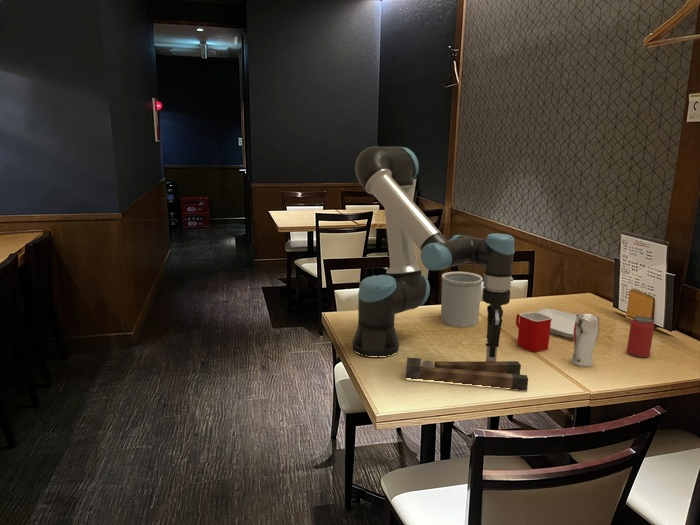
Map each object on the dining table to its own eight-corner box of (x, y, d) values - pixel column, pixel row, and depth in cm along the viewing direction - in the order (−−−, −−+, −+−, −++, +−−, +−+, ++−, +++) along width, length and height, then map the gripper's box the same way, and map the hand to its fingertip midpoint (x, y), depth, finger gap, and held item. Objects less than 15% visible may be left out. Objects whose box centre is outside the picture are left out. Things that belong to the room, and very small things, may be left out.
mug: (551, 348, 169) (554, 318, 167) (533, 353, 166) (536, 321, 163) (523, 336, 180) (526, 307, 177) (506, 340, 176) (508, 310, 174)
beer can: (637, 359, 162) (643, 323, 160) (621, 351, 169) (626, 316, 166) (654, 357, 164) (660, 321, 161) (638, 349, 170) (643, 314, 168)
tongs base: (405, 380, 145) (406, 365, 144) (406, 371, 151) (407, 356, 150) (527, 391, 140) (528, 375, 139) (523, 381, 146) (525, 366, 145)
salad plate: (517, 326, 191) (517, 317, 190) (545, 314, 204) (546, 306, 204) (572, 343, 175) (574, 334, 174) (599, 329, 189) (601, 320, 188)
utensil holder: (471, 330, 184) (475, 283, 180) (433, 322, 192) (435, 277, 188) (484, 319, 197) (488, 275, 193) (447, 312, 204) (450, 269, 200)
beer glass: (587, 358, 162) (593, 313, 159) (598, 367, 156) (605, 320, 152) (565, 358, 162) (571, 313, 159) (575, 367, 155) (581, 320, 152)
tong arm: (435, 376, 147) (436, 365, 147) (433, 372, 150) (434, 361, 149) (519, 376, 148) (520, 364, 148) (516, 372, 151) (517, 361, 150)
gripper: (513, 295, 139) (506, 376, 144) (507, 283, 151) (500, 357, 157) (485, 294, 140) (479, 374, 145) (481, 281, 152) (475, 355, 158)
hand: (490, 365), depth 151 cm, fingers closed
